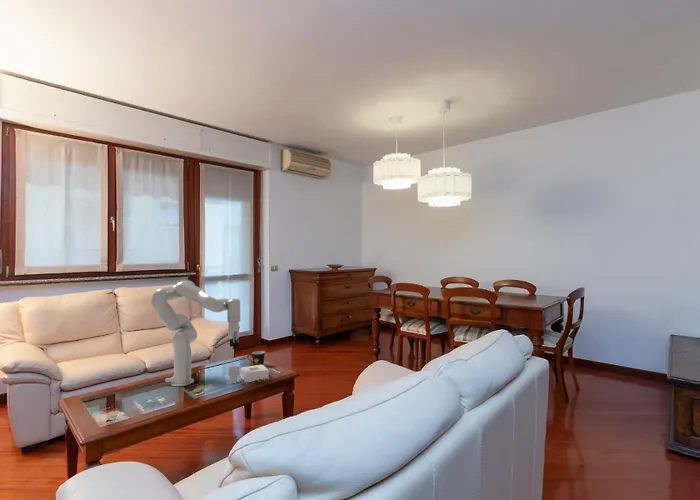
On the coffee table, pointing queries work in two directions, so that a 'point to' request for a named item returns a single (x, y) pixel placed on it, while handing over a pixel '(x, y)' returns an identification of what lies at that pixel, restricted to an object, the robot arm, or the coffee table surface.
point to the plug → (233, 373)
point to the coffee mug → (257, 358)
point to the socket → (253, 373)
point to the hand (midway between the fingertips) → (234, 347)
